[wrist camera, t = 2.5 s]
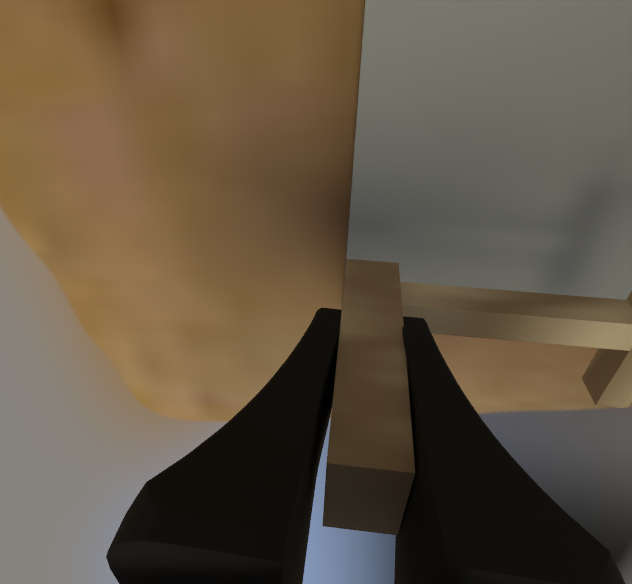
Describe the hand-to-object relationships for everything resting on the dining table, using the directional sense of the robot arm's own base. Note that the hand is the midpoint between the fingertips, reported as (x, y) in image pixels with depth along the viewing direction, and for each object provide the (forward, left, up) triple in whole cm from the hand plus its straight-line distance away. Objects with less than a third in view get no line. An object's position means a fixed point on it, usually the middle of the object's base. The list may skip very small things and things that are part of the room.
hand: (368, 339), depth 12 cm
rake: (-4, 0, -2) cm, 5 cm away
